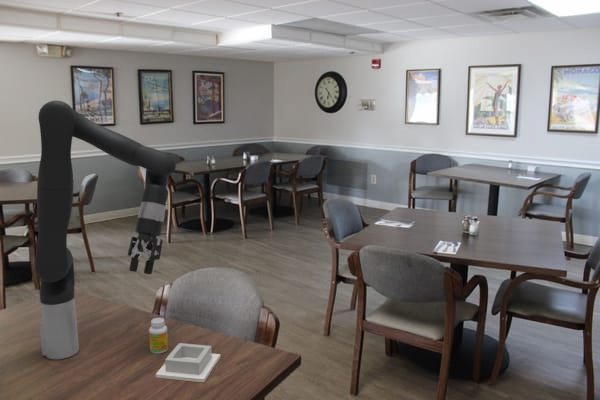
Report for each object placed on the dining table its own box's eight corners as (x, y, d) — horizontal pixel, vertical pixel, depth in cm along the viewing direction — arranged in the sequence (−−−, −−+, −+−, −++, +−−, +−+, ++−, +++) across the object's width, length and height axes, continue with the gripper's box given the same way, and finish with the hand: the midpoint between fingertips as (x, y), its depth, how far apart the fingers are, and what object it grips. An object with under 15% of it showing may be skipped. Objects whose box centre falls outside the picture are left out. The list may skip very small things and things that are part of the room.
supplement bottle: (149, 355, 153) (148, 325, 151) (150, 346, 158) (148, 317, 156) (168, 352, 154) (166, 323, 152) (168, 344, 159) (166, 315, 158)
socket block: (155, 377, 141) (155, 362, 140) (176, 353, 154) (175, 339, 153) (203, 382, 138) (203, 367, 138) (220, 357, 152) (220, 343, 151)
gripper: (127, 216, 155) (116, 269, 152) (152, 216, 145) (141, 273, 142) (149, 220, 160) (139, 272, 157) (174, 221, 150) (164, 276, 148)
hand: (140, 272), depth 150 cm, fingers open, 8 cm apart
